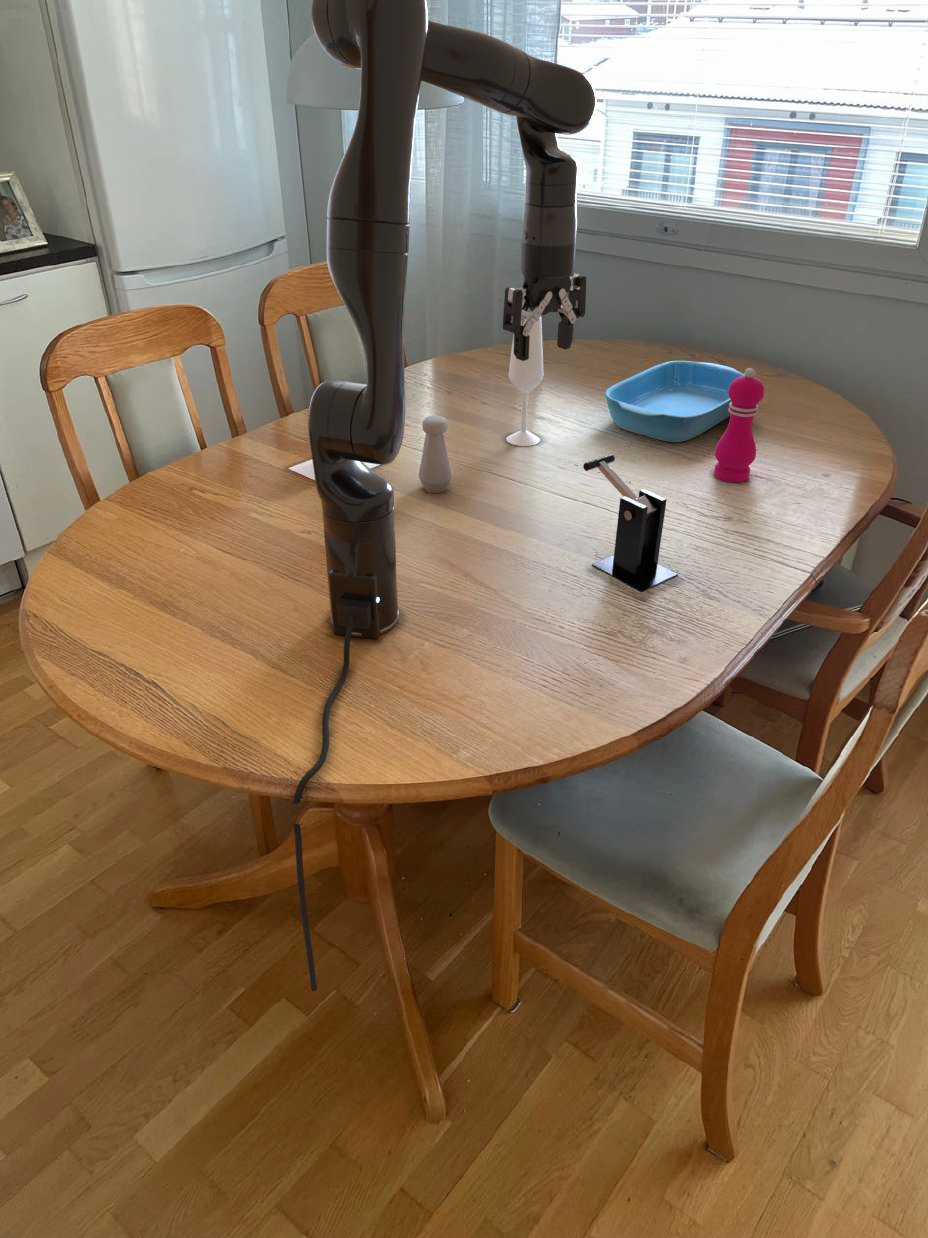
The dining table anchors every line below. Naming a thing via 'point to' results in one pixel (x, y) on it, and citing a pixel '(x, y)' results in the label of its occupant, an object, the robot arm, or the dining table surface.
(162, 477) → the dining table surface
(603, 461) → the lever with crossbar handle
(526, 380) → the champagne flute
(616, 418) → the casserole dish
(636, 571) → the black lever stand
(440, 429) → the salt shaker
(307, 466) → the napkin holder
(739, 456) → the pepper mill
